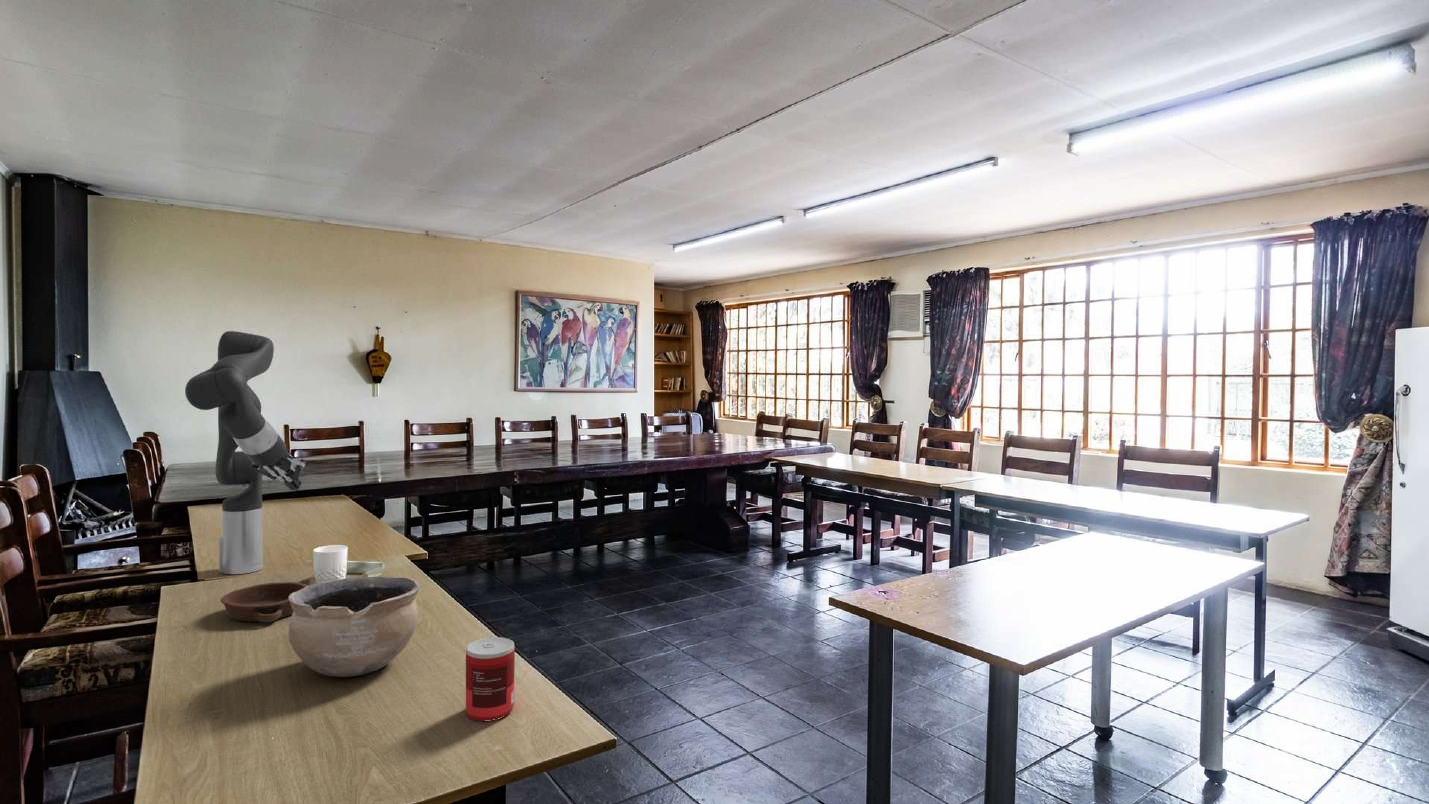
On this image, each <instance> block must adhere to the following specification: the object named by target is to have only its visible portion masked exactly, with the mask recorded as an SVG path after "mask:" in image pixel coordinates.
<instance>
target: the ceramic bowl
mask: <svg viewBox="0 0 1429 804" xmlns="http://www.w3.org/2000/svg"><path fill="white" fill-rule="evenodd" d="M419 590H420V584H419V582H418V580H415V579H413V578H409V577H402V576H377V577H365V578H362V577H358V576H355V577H348V578H347V577H346V579H340V580H335V581H330V582H322V583H319V584H314V585H311V586H307V587H305V588H303V589H301V590H299V591H297V592H294V593H291V594H290V595H289V597H288V598H289V601H290V604H291V606H292V609H293V614H291V617H290V620H289V624H288V631H287V632H288V633H287V635H288V641H289V644H290V646H291V648H292V650H293V651H294V652H295V655H296V656H297V657H298V658H299V659H300V660H301V661H302V663H304V664H305V665H306V666H307V667H309V668H310V669H311V670H313V671H314V672H316V673H318V674H321V675H324V676H328V677H335V678H337V677H338V678H350V677H357V676H363V675H366V674H369V673H373V672H375V671H378V670H380V669H382V668H383V667H385V666H386V665H388V664H389V663H390V662H392V661H393V660H394V659H395V658H397V656H398V655H399V654H400V653H401V652H402V651H403V650H404V649H405V648H406V646H407V645H408V644H409V642H410V640H411V639H412V637H413V636H414V633H415V630H416V628H417V625H418V620H419V612H418V611H419V610H418V605H417V600H416V598H417V596H418V592H419Z"/></svg>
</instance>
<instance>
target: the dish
mask: <svg viewBox="0 0 1429 804" xmlns="http://www.w3.org/2000/svg"><path fill="white" fill-rule="evenodd" d="M307 586H308V585H305V584H301V583H296V581H295V582H292V581H291V582H290V581H287V582H285V581H284V582H267V583H261V584H256V585H251V586H247V587H241V588H240V589H236V590H233V591H230V592H228V593H226V594H225V595H223V596H222V597H221V598H220V602H221V604H223V606H224V609H225V610H226V613H227V615H228V616H229V617H230V618H231V619H233V620H235V621H242V622H259V623H271V622H274V621H276V620H277V621H278V619H281V618H285V617H287V616H292V614H293V609H292V606H291V604H290V601H289V598H288V597H289V595H290V594H291V593H294V592H297V591H299V590H301V589H303V588H305V587H307Z"/></svg>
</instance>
